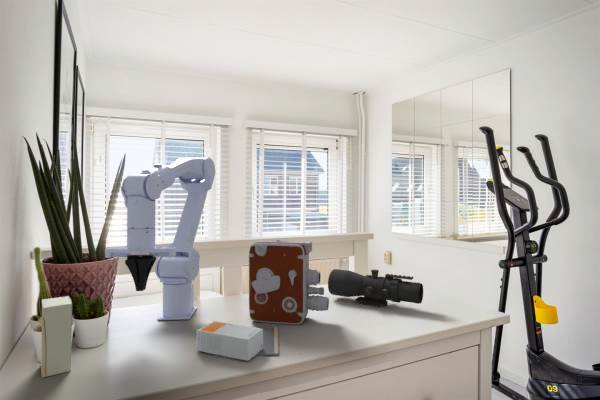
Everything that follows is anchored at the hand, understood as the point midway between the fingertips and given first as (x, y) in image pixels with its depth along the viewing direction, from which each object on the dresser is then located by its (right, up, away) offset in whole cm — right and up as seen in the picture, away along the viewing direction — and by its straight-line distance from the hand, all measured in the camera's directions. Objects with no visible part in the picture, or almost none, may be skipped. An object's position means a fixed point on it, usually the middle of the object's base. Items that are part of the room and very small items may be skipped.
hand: (140, 290), depth 78 cm
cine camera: (+32, -11, +11) cm, 36 cm away
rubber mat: (+24, -10, -3) cm, 27 cm away
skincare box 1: (-9, -11, -14) cm, 20 cm away
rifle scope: (+57, -11, +24) cm, 62 cm away
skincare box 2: (+15, -8, -5) cm, 18 cm away
